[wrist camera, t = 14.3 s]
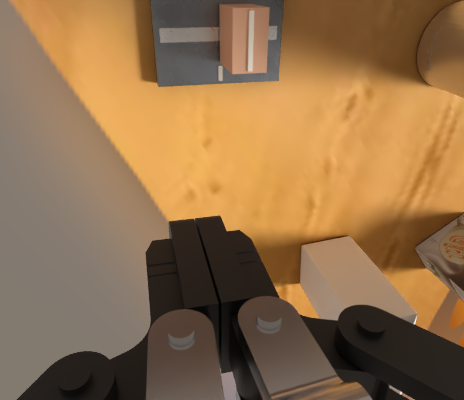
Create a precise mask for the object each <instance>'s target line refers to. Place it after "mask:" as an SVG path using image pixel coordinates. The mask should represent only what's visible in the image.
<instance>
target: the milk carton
mask: <svg viewBox="0 0 464 400" xmlns="http://www.w3.org/2000/svg"><path fill="white" fill-rule="evenodd" d="M300 285H301V287H302V288H303V290H304V292H305V294H306V295H307V297H308V299H309V301H310V302H311V304H312V306H313V308H314V309H315V311H316V313H317V315H318V316H319V318H320V319H327V320H338V317H339V315H340V313H341V312H342V311H343V310H344V309H345V308H347V307H350V306H353V305H370V306H374V307H377V308H380V309H382V310H384V311H387V312H389V313H391V314H393V315H395V316H397V317H399V318H401V319H404V320H406V321H408V322H410V323H412V324H414V325H415V322H416V318H417V312H416V311H415V310H414V309H413V308H412V306H411V305H410V304H409V303H408V302H407V301H406V300H405V298H404V297H403V296H402V295H401V294H400V293H399V292H398V290H397V289H396V288H395V287H394V286H393V285H392V284H391V282H390V281H389V280H388V279H387V278H386V277H385V276H384V274H383V273H382V272H381V271H380V270H379V269H378V268H377V266H376V265H375V264H374V263H373V262H372V261H371V260H370V258H369V257H368V256H367V255H366V254H365V253H364V252H363V250H362V249H361V248H360V247H359V246H358V245H357V244H356V242H355V241H354V240H353V239H352V238H351V237H350V236H347V237H341V238H336V239H331V240H326V241H321V242H315V243H310V244H305V245H302V249H301V270H300ZM389 387H392V386H389ZM392 388H394V387H392ZM394 390H395V391H396V392H397V393H399V394H402V392H401V391H399V390H397V389H395V388H394Z"/></svg>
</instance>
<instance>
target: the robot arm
mask: <svg viewBox="0 0 464 400" xmlns="http://www.w3.org/2000/svg"><path fill="white" fill-rule="evenodd" d="M417 66H418V70H419V73H420V75H421V77H422V78H423V80H424V81H425V82H426V83H427V84H429V85H431V86H433V87H436V88H439V89H441V90H444V91H447V92H450V93H453V94H455V95H458V96H461V97H464V0H462V1H459V2H455V3H453V4H451V5H449V6H447V7H445V8H444V9H443V10H441V11H440V12H439V13H438V14H437V15H436V16H435V17H434V18H433V19H432V20H431V22H430V23H429V25H428V26H427V28H426V29H425V31H424V33H423V35H422V37H421V40H420V43H419V47H418V53H417ZM169 234H170V239H164V240H155V241H152V242H151V244H150V246H149V248H148V250H147V251H146V264H147V276H148V287H149V288H148V289H149V302H150V315H151V324H150V328H149V330H148V333H147V334H146V336H145V337H144V338H143V340H142V341H141V342H140V343H139V344H137V345H136V346H135V347H134V348H132V349H131V350H129V351H127V352H125V353H123V354H121V355H119V356H116V357H114V358H112V359H110V360H109V359H108V358H107V357H106V356H104V355H102V354H100V353H97V352H92V351H83V352H77V353H73V354H70V355H68V356H65V357H63V358H62V359H60V360H58V361H57V362H55V363H54V364H53V365H51V366H50V367H49V368H48V369H47V370H46V371H45V372H44V373H43V374H42V375H41V376H40V377H39V378H38V379H37V380H36V381H35V382H34V383H33V384H32V385H31V386H30V387H29V388H28V389H27V390H26V391H25V392H24V393H23V394H22V395H21V396H20V397H19V398H18V399H17V400H225V398H224V392H223V385H222V379H221V373H226V372H231V371H232V372H233V375H234V379H235V383H236V400H409V399H408V398H406V397H404V396H402V395H401V394H399V393H397V392H395V391H394V390H392V389H390V388H389V386H392V387H394V388H395V389H397V390H399V391H401V392H403V393H404V394H406V395H408V396H410V397H412V398H413V399H415V400H464V348H463V347H461V346H459V345H457V344H455V343H453V342H451V341H448V340H446V339H444V338H442V337H440V336H438V335H436V334H434V333H431V332H429V331H427V330H425V329H423V328H421V327H419V326H416V325H414V324H412V323H410V322H408V321H406V320H404V319H401V318H399V317H397V316H395V315H393V314H391V313H389V312H387V311H384V310H382V309H380V308H377V307H374V306H370V305H353V306H350V307H347V308H345V309H344V310H343V311H342V312H341V313H340V315H339V317H338V320H327V319H317V318H309V317H306V316H302V315H300V314H299V313H298V312H297V310H296V309H295V308H294V307H293V306H292V305H291V304H290V303H288V302H287V301H285V300H283V299H280V298H279V296H278V293H277V291H276V289H275V287H274V285H273V283H272V281H271V279H270V277H269V275H268V273H267V271H266V269H265V267H264V265H263V263H262V262H261V259H260V256H259V254H258V253H257V250H256V248H255V246H254V244H253V242H252V240H251V239H250V238H249V237H248V236H246V235H245V234H244V233H243V232H241V231H240V230H236V231H228V232H227V231H226V228H225V226H224V224H223V221H222V219H221V217H220V216H212V217H203V218H195V221H194V219H186V220H177V221H169ZM219 365H220V366H219ZM220 369H221V372H220Z"/></svg>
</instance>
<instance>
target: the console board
mask: <svg viewBox="0 0 464 400" xmlns="http://www.w3.org/2000/svg"><path fill="white" fill-rule="evenodd" d="M219 4H255V5H260V6H265V7H270V10H269V31H268V52H267V73H248V74H232V73H230V72H229V71H228V70H227V69H226V68H225V67H224V66H223V65H221V64H220V17H219ZM150 5H151V17H152V29H153V40H154V52H155V63H156V75H157V84H158V87H164V86H183V85H203V84H223V83H243V82H263V81H278V80H279V64H280V48H281V32H282V16H283V0H150Z"/></svg>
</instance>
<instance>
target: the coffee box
mask: <svg viewBox="0 0 464 400" xmlns="http://www.w3.org/2000/svg"><path fill="white" fill-rule="evenodd" d="M415 250H416V252H417V253H418V255H419V257H420V258H421V260H422V262H423V263H424V265H425V267H426V268H427V269H428V270H430V271H431V272H432V273H433V274H434V275H435V276H437V277H438V278H439V279H440V280H441V281H442V282H443V283H444V284H445V285H446V286H447V287H448V288H449V289H450V290H451V291H453V292H454V293H455V294H456V295H457V296H458V297H459V298H460V299H461V300H462V301H463V302H464V213H463V214H462V215H460V216H459V217H458V218H456V219H455V220H453V221H452V222H451V223H449V224H448V225H446V226H445V227H443V228H442V229H441V230H439V231H438V232H436V233H435V234H433V235H432V236H431V237H429V238H428V239H426V240H425V241H424V242H422V243H421V244H419V245H418V246H416V247H415Z"/></svg>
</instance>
